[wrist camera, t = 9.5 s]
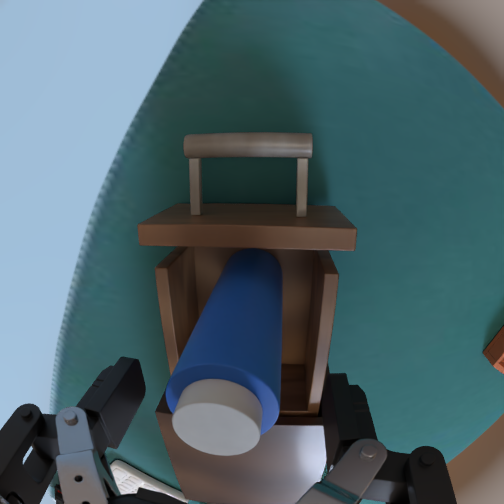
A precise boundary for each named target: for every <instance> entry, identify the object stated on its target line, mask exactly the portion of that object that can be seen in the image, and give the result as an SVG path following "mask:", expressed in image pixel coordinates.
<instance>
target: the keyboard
mask: <svg viewBox="0 0 504 504" xmlns="http://www.w3.org/2000/svg"><path fill="white" fill-rule="evenodd" d="M55 500H56V504H64V500H63V496H62V491H61V486H60V485H57V484H56V485H55Z"/></svg>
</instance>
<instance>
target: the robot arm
mask: <svg viewBox="0 0 504 504" xmlns="http://www.w3.org/2000/svg"><path fill="white" fill-rule="evenodd" d="M145 391H146V387H145V382H144V378H143V374H142V370H141V366H140V362H139V360H138V359H134V358H128V357H121V358H120V359H119V360H118V361H117V363H116V364H115V365H114V366H109V367H108V368H106V369H105V370H103V371H102V372H101V373H100V374H99V376H98V377H97V378H96V380H95V381H94V382H93V384H92V386H91V387H90V388H89V389H88V391H87V392H86V393H85V395H84V396H83V397H82V399H81V400H80V401H79V403H78V404H77V406H76V407H67V408H64V409H62V410H61V411H60V412H59V413H58V414H57V415H52V414H42V413H41V411H40V409H39V407H37V406H36V405H34V404H24V405H21V406H20V407H18V408H17V409H16V410H15V412H14V413H13V414H12V416H11V417H10V418H9V420H8V421H7V422H6V423H5V425H4V426H3V427H2V429H1V430H0V504H40V502H41V500H42V498H43V496H44V494H45V492H46V490H47V488H48V486H49V484H50V482H51V480H52V479H53V477H54V475H55V473H56V471H57V470H58V476H59V481H60V486H61V491H62V496H63V500H64V504H188V503H185V502H183V501H181V500H178V499H176V498H174V497H172V496H169V495H167V494H165V493H161V492H156V491H152V490H148V489H144V488H141V487H139V488H138V491H137V493H132V494H122V495H121V493H120V491H119V489H118V487H117V484H116V482H115V479H114V476H113V473H112V470H111V467H110V464H109V461H108V458H107V455H106V453H105V450H106V449H107V447H111V448H114V449H117V448H118V446H119V444H120V442H121V440H122V438H123V437H124V435H125V433H126V431H127V429H128V427H129V425H130V423H131V421H132V419H133V417H134V415H135V414H136V412H137V410H138V408H139V406H140V404H141V402H142V400H143V398H144V396H145ZM322 419H323V428H324V438H325V449H326V460H327V472H328V474H327V475H326V476H325V478H324V479H323V480H322V481H320V482H316V483H315V484H314V485H313V486H312V487H311V488H310V489H309V490H308V491H307V492H306V493H305V494H304V495H303V496H302V497H301V498H300V499H299V500H298V501H297V502H296V503H295V504H359V503H360V502H361V500H362V499H367V500H374V501H381V502H386V504H457V502H456V498H455V494H454V491H453V487H452V484H451V480H450V477H449V473H448V470H447V466H446V463H445V460H444V457H443V455H442V453H441V452H440V451H439V450H437V449H436V448H434V447H430V446H422V447H418V448H416V449H415V450H413V451H412V453H411V454H406V453H398V452H393V451H389V450H387V449H386V447H385V446H384V445H383V444H382V443H381V442H379V441H378V439H377V436H376V432H375V428H374V424H373V421H372V417H371V413H370V412H369V406H368V404H367V399H366V395H365V392H364V391H363V390H362V389H361V388H360V387H359V386H358V385H349V383H348V379H347V375H346V373H332V374H327V378H326V384H325V389H324V394H323V400H322ZM31 446H32V448H33V450H32V451H31V453H30V455H29V456H28V458H27V459H26V461H25V463H24V464H23V458H24V456H25V454H26V453H27V451H28V450H29V448H30V447H31ZM223 504H224V503H223Z"/></svg>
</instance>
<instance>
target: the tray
mask: <svg viewBox="0 0 504 504" xmlns="http://www.w3.org/2000/svg"><path fill="white" fill-rule="evenodd" d="M483 354H484V355H485V357H486V358H487V359H488V360H489V362H490V363H491V364H492V365H493V366H494V367H495V368H496V369H498V370H499V371H500V372H501V373H503V374H504V326H503V327H502V328H501V330H500V331H499V332H498V334H497V335H496V336H495V338H494V339H493V340H492V341H491V343H490V344H489V345H488V346H487V348H486V349H485V350H484V351H483Z"/></svg>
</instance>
